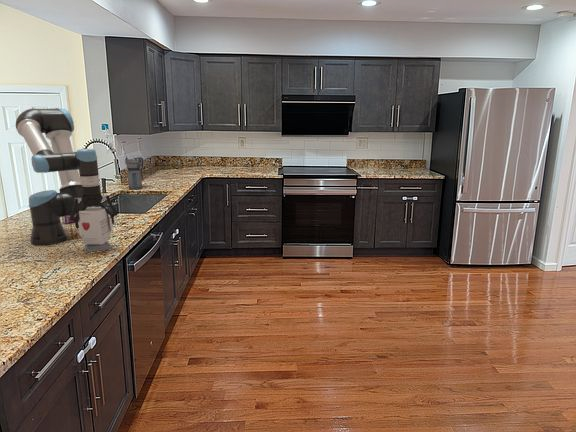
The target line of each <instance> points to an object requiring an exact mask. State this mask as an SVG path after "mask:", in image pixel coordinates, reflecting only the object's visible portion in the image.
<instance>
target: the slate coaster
mask: <svg viewBox="0 0 576 432" xmlns="http://www.w3.org/2000/svg"><path fill="white" fill-rule="evenodd" d="M84 248H85V251H87V252H86V254H87V253H90V254H92V253H91V252H96V253H98V252H97V251H102V252H104V251H103V250H109V249H112V250H113V248H112V245H111V243H110V241H109V240H108V241H107V242H105V243H104V244H84ZM109 251H110V250H109Z"/></svg>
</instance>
